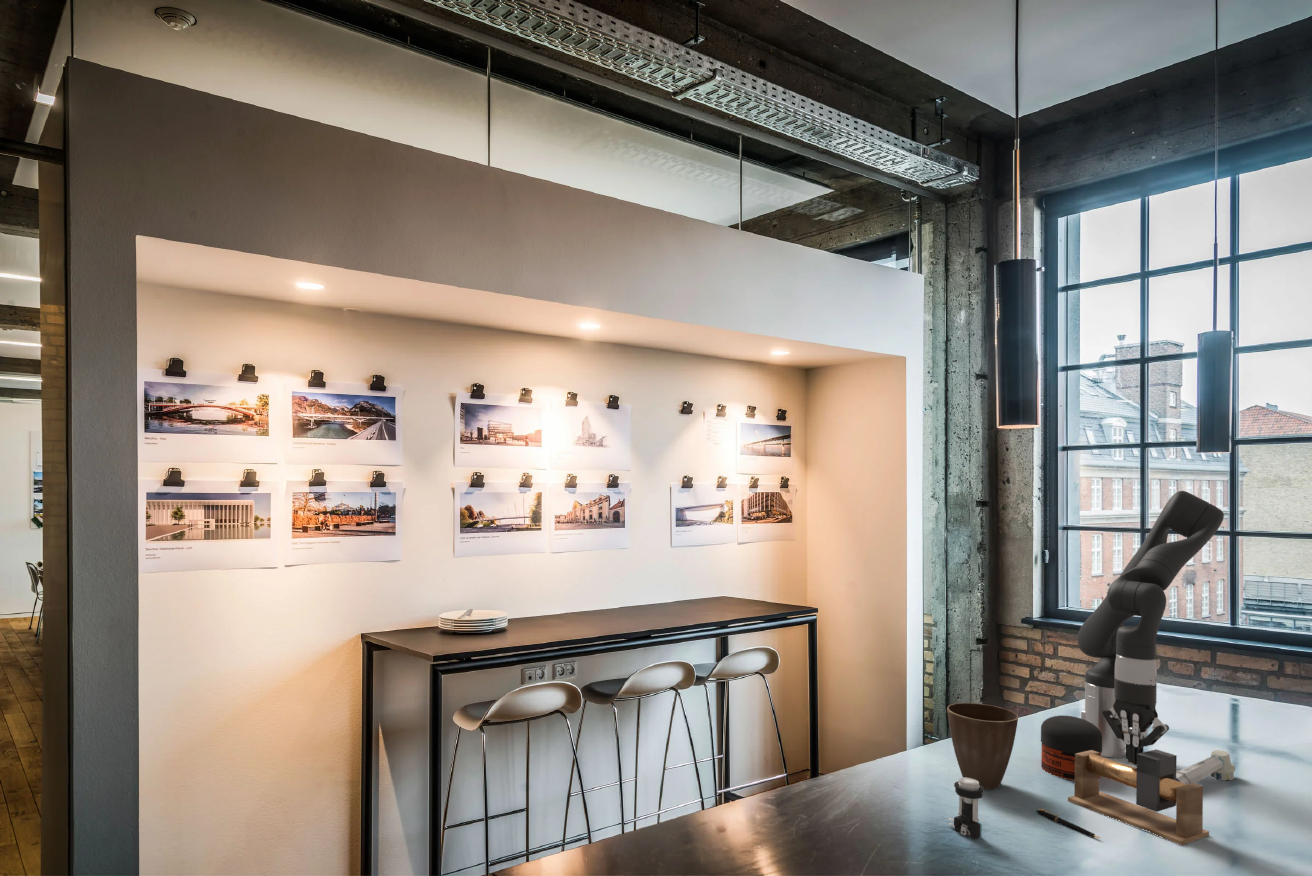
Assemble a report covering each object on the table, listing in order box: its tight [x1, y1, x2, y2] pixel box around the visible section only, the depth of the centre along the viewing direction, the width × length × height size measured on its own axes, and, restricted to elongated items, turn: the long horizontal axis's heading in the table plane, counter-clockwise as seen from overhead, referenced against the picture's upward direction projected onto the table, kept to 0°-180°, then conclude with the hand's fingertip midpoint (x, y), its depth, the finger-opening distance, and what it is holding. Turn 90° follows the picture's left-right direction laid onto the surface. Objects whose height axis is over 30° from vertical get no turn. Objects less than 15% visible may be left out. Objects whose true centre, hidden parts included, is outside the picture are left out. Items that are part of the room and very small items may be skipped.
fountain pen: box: [1036, 808, 1101, 839], centre depth 161 cm, size 14×1×2 cm, turn 28°
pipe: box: [1086, 754, 1187, 802], centre depth 167 cm, size 19×4×4 cm, turn 30°
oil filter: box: [1040, 715, 1102, 782], centre depth 193 cm, size 13×12×13 cm
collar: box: [1135, 748, 1178, 813], centre depth 164 cm, size 4×7×10 cm, turn 120°
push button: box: [948, 777, 985, 840], centre depth 157 cm, size 7×5×10 cm
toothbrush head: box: [1176, 749, 1236, 784], centre depth 188 cm, size 5×7×25 cm
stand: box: [1067, 750, 1210, 846], centre depth 167 cm, size 23×10×10 cm, turn 30°
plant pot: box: [946, 702, 1019, 790], centre depth 183 cm, size 15×15×16 cm
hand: (1134, 763), depth 167 cm, fingers closed
